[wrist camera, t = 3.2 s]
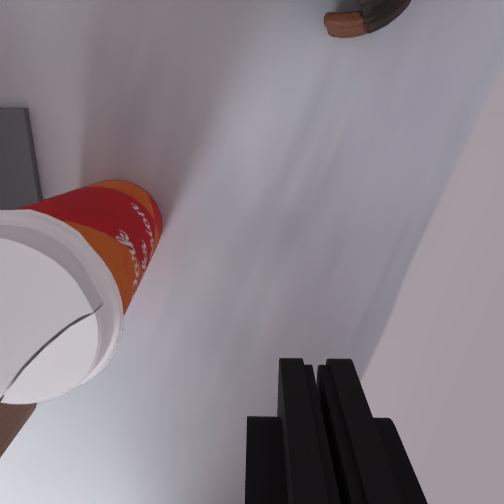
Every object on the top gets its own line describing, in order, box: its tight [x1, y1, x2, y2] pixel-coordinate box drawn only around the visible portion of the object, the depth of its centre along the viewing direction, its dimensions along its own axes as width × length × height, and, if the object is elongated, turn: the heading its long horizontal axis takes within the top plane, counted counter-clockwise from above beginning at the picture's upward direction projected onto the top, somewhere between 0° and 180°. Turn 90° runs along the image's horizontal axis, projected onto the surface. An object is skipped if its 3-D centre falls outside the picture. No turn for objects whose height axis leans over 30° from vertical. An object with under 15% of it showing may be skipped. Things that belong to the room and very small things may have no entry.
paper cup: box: [0, 180, 162, 404], centre depth 22 cm, size 8×8×14 cm
